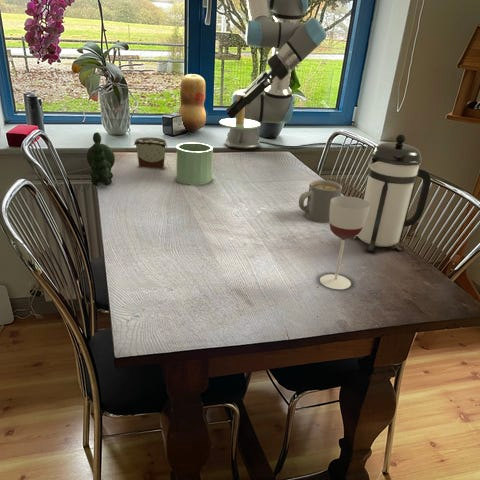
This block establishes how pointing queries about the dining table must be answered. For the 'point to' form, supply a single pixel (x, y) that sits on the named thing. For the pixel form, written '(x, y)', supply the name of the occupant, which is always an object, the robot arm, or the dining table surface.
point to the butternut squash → (192, 102)
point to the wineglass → (345, 230)
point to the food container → (151, 152)
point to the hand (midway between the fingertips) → (228, 114)
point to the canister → (194, 163)
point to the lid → (240, 120)
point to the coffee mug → (319, 199)
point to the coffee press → (392, 193)
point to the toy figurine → (100, 161)
